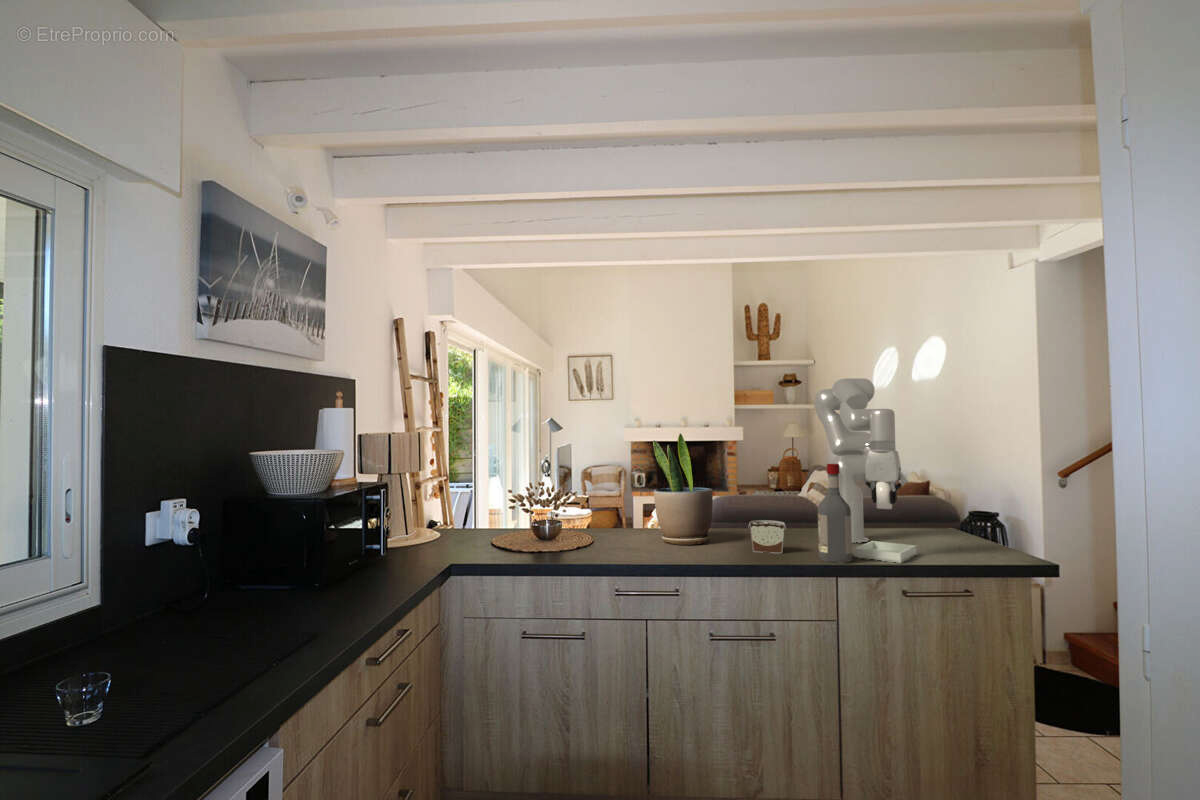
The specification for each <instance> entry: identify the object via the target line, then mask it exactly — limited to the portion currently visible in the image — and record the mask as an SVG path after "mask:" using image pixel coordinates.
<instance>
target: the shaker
mask: <svg viewBox="0 0 1200 800" xmlns="http://www.w3.org/2000/svg"><path fill="white" fill-rule="evenodd" d="M890 491H891V486H890V483H889V482H878V481H876V503H875V504H876V509H880V510H892V509H893V504H891V503H890Z"/></svg>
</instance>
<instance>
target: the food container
mask: <svg viewBox="0 0 1200 800" xmlns="http://www.w3.org/2000/svg"><path fill="white" fill-rule="evenodd" d="M748 529H749V530H750V536H751V544H752V552H753V553H763V552H770V553H769V554H780V553H782V554H783V549H784V548H783V547H784V536H785V530H787V527H786V524H785V522H784V521H779V520H768V519H767V520H766V519H763V520H762V519H759V520H758V519H757V520H751V521H749V524H748Z"/></svg>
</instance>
